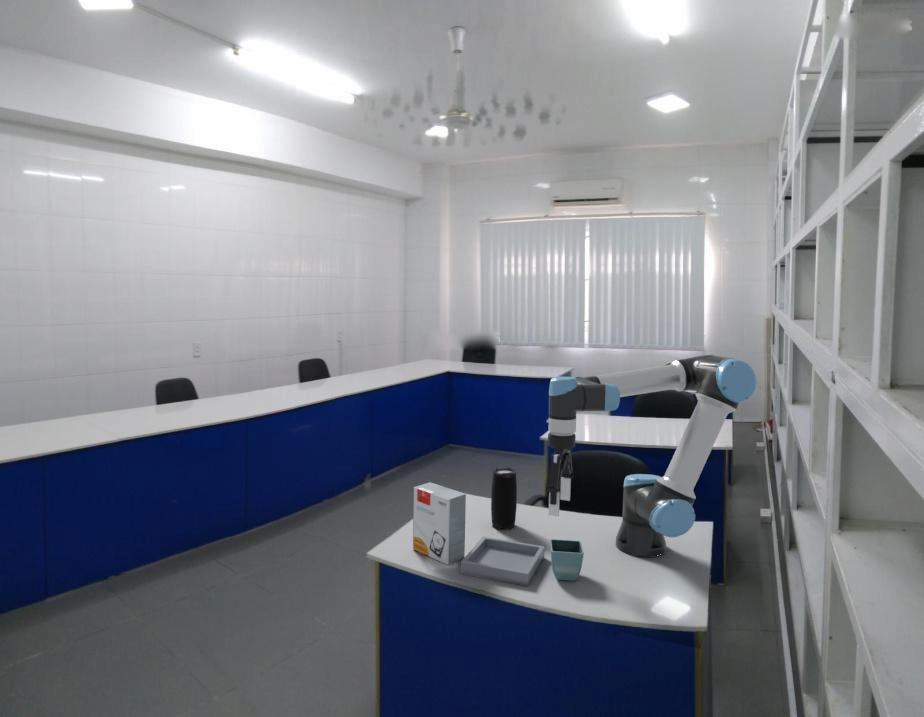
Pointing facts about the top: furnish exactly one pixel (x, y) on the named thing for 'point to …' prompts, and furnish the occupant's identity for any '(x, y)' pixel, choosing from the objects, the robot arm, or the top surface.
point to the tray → (503, 560)
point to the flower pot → (566, 558)
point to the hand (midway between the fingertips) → (559, 507)
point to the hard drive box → (439, 522)
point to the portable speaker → (503, 498)
